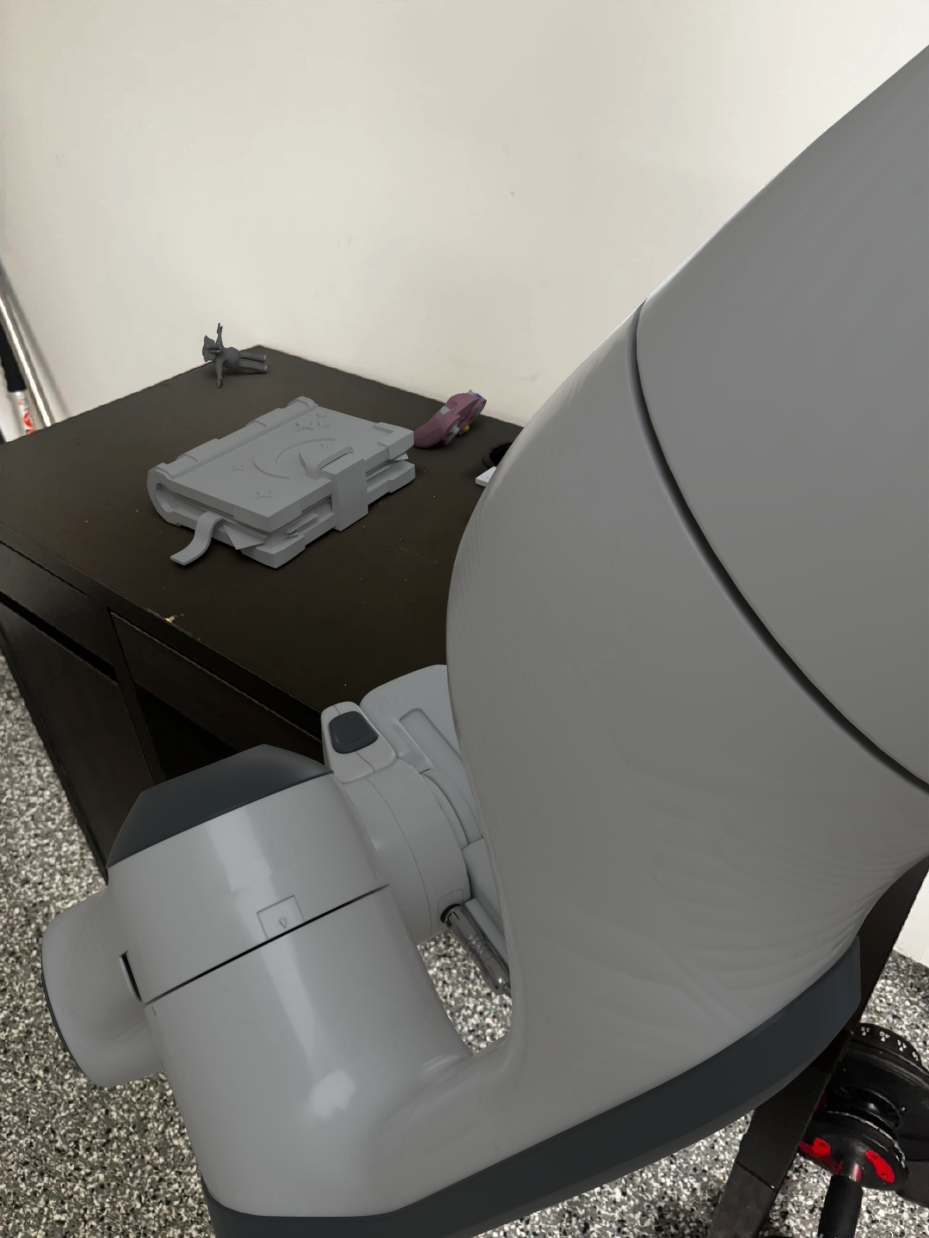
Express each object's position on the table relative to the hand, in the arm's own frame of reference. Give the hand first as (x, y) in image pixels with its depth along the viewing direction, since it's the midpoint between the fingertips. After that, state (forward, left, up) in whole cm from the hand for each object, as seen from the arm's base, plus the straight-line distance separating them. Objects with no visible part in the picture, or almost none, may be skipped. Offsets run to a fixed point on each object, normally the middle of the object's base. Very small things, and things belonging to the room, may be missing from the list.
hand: (614, 749), depth 50 cm
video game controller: (+44, -50, -12) cm, 68 cm away
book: (+50, -25, -12) cm, 57 cm away
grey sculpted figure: (+82, -50, -12) cm, 97 cm away
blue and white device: (+29, -43, -12) cm, 53 cm away
